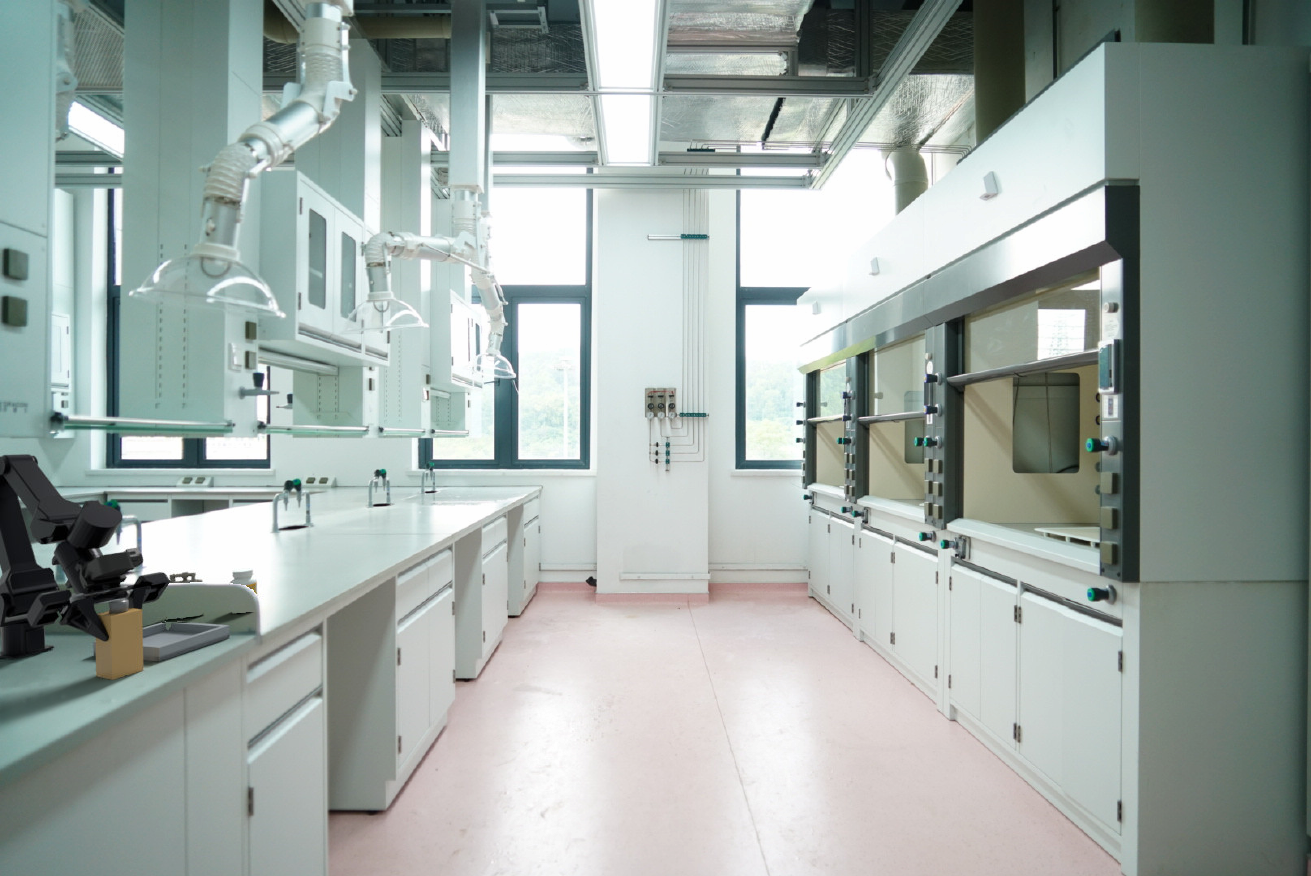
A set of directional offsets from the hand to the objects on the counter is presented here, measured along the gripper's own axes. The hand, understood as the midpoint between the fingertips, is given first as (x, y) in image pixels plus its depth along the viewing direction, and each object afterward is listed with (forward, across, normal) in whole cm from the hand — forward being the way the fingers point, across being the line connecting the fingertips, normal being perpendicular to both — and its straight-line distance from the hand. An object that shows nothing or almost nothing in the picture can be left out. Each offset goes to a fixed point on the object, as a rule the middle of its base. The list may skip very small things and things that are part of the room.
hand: (124, 635), depth 109 cm
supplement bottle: (-10, +35, +19) cm, 41 cm away
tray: (-2, +12, +12) cm, 17 cm away
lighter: (-15, +26, +25) cm, 39 cm away
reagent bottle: (+4, 0, +6) cm, 7 cm away
